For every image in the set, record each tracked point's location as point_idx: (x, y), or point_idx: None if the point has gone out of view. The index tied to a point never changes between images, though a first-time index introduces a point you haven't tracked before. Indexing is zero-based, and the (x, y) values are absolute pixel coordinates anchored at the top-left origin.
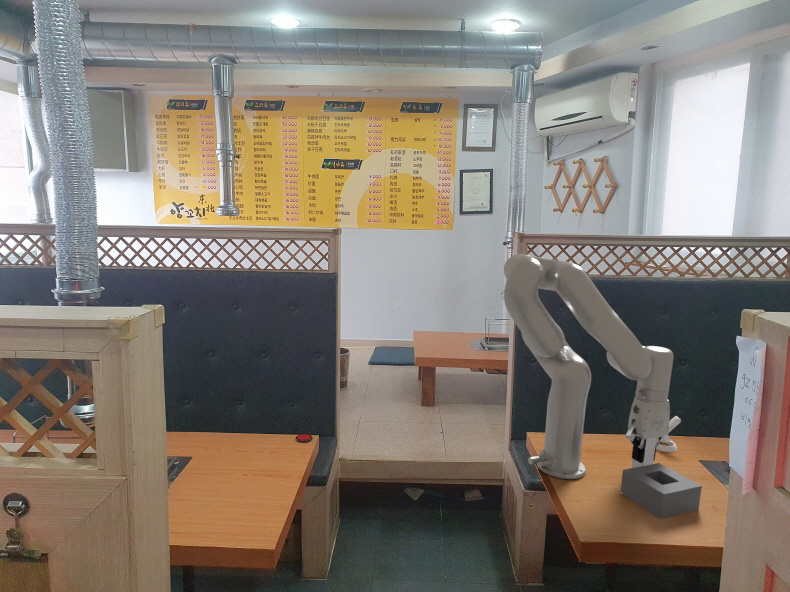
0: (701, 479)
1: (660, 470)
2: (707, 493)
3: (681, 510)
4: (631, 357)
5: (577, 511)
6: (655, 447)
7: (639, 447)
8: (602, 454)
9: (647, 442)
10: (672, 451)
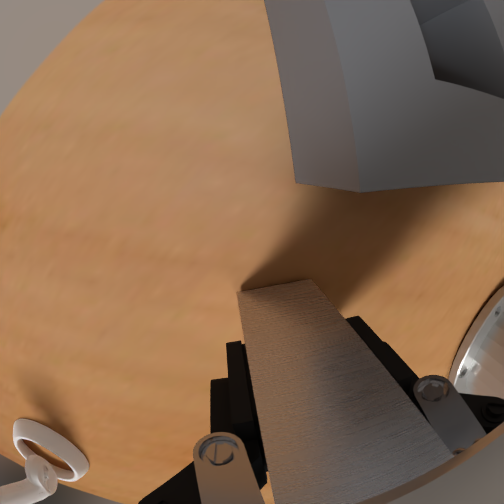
0: (8, 213)
1: (431, 79)
2: (76, 75)
3: None
4: None
5: None
6: (245, 419)
7: (443, 380)
8: None
9: (412, 430)
10: (29, 422)
